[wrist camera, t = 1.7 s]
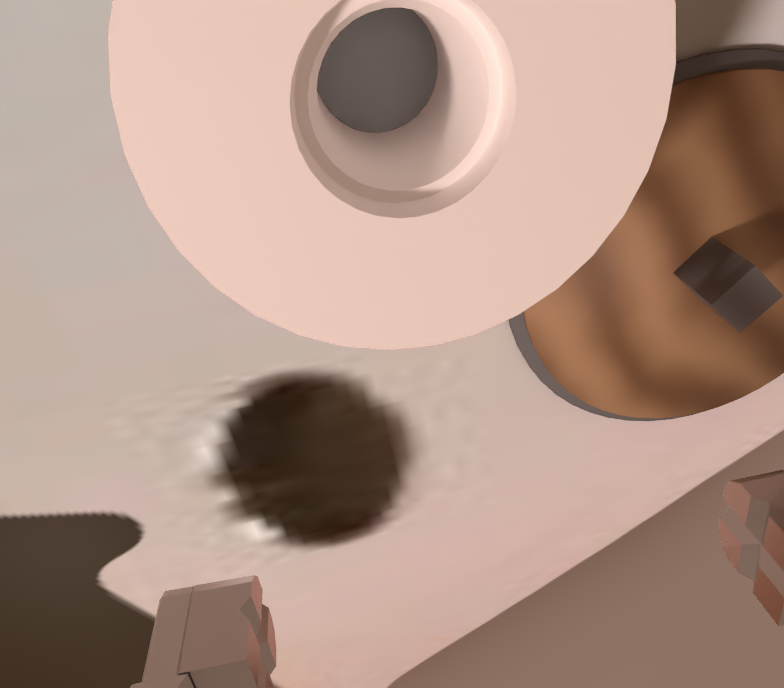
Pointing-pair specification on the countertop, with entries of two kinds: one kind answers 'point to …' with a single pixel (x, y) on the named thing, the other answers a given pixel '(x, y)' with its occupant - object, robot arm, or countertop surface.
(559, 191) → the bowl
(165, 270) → the countertop surface
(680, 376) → the lid
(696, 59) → the mat
